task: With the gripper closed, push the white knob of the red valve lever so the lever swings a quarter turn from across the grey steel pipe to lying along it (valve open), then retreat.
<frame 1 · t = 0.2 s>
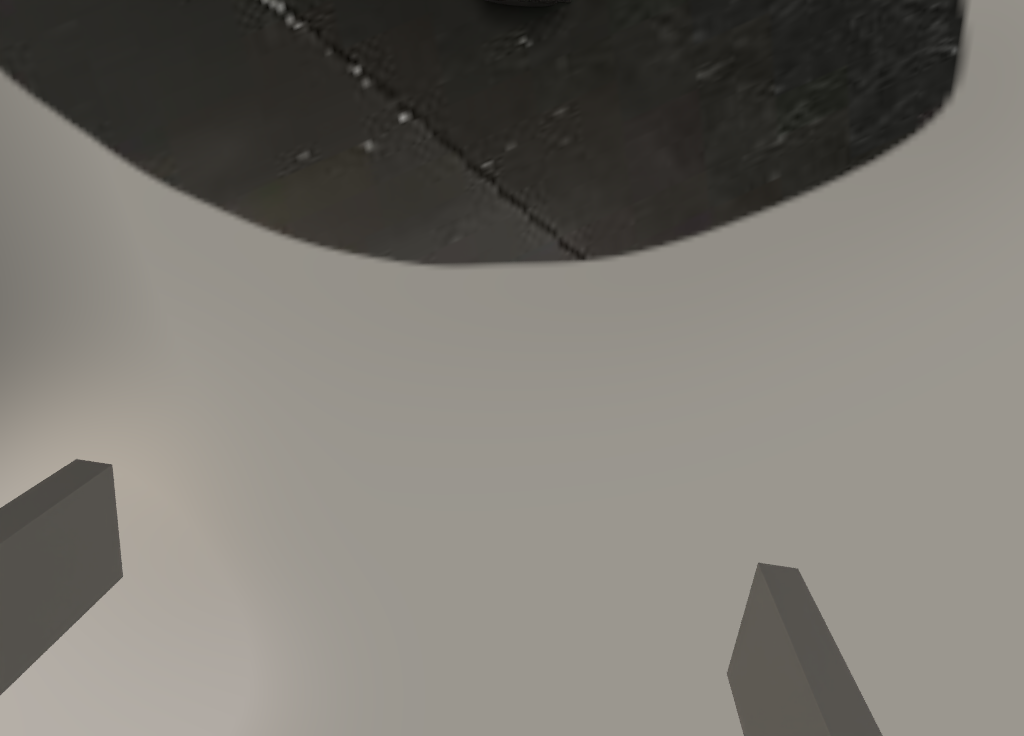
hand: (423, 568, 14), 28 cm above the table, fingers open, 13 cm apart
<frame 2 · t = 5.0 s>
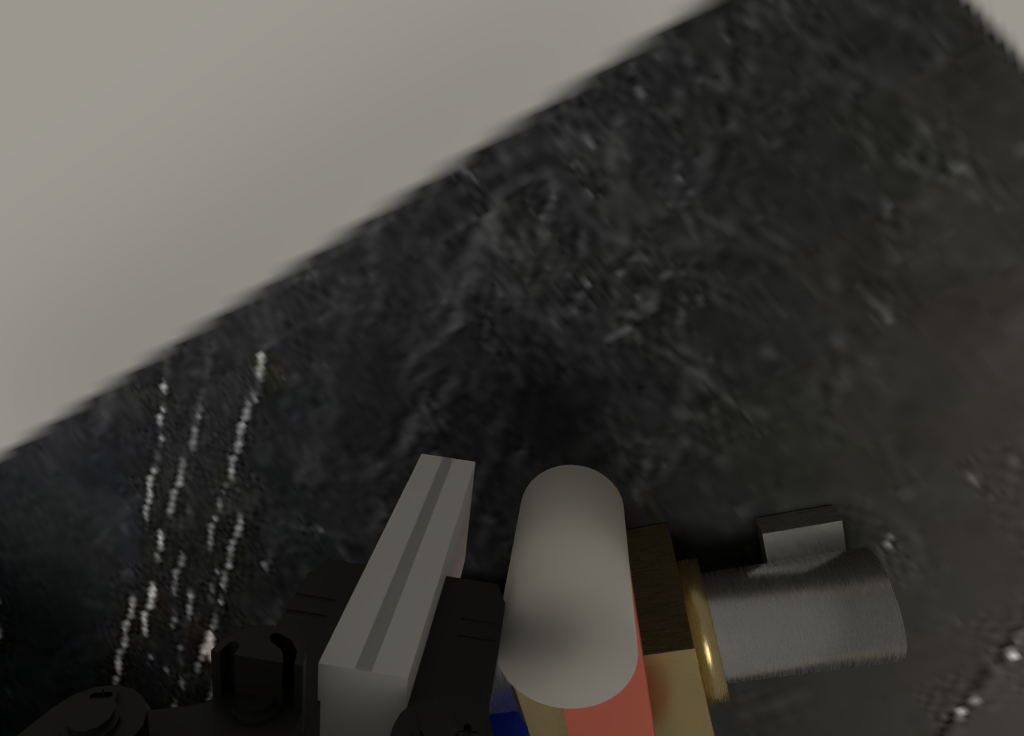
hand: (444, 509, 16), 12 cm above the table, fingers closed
beverage can: (477, 719, 33), on the table
valve: (612, 593, 29), on the table
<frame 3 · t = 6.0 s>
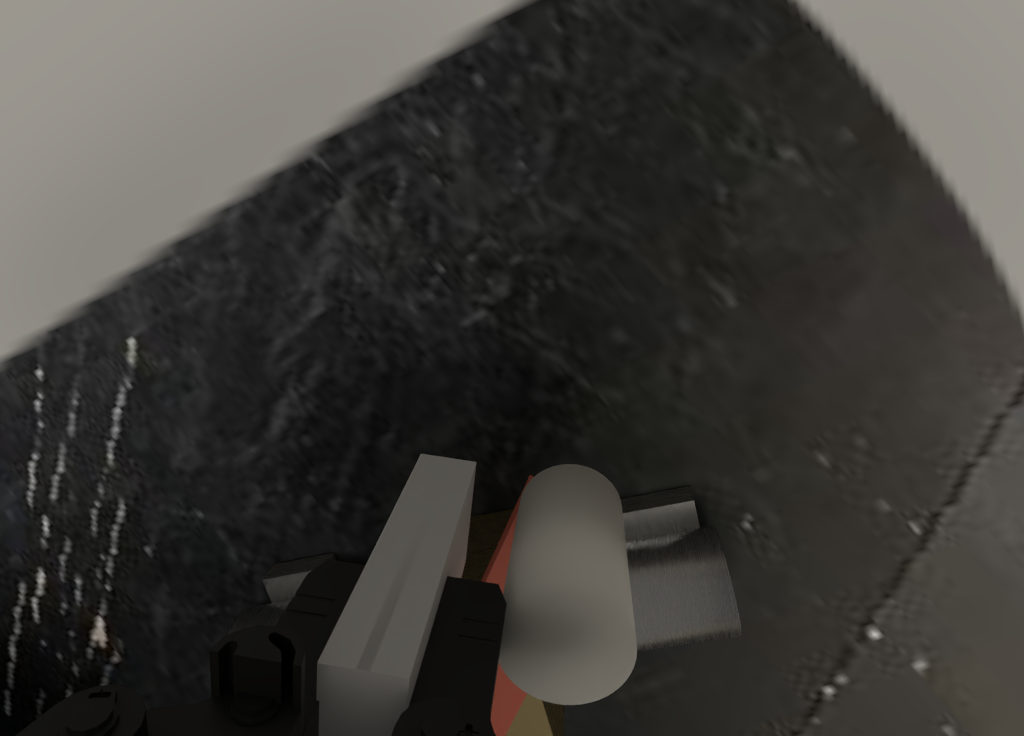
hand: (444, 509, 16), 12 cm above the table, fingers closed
lever: (485, 719, 17), point 12 cm above the table, hinge at 53.0°, touching gripper
valve: (485, 575, 30), on the table
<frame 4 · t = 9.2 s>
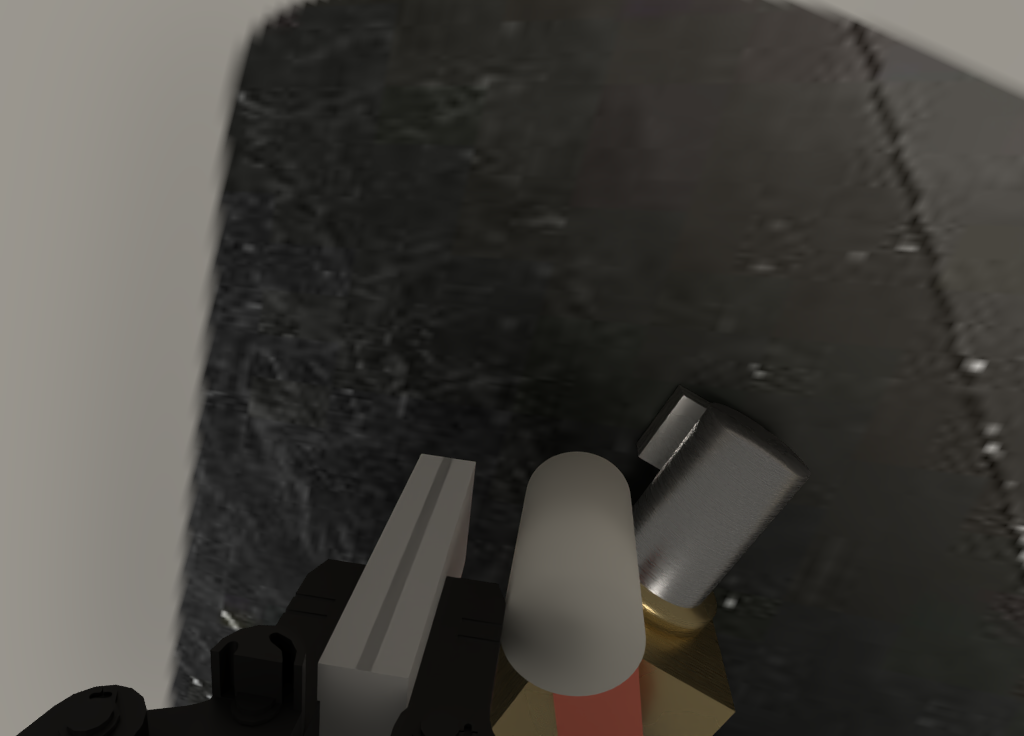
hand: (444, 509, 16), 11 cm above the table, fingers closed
lever: (594, 730, 16), point 12 cm above the table, hinge at 36.5°, touching gripper
valve: (601, 586, 29), on the table
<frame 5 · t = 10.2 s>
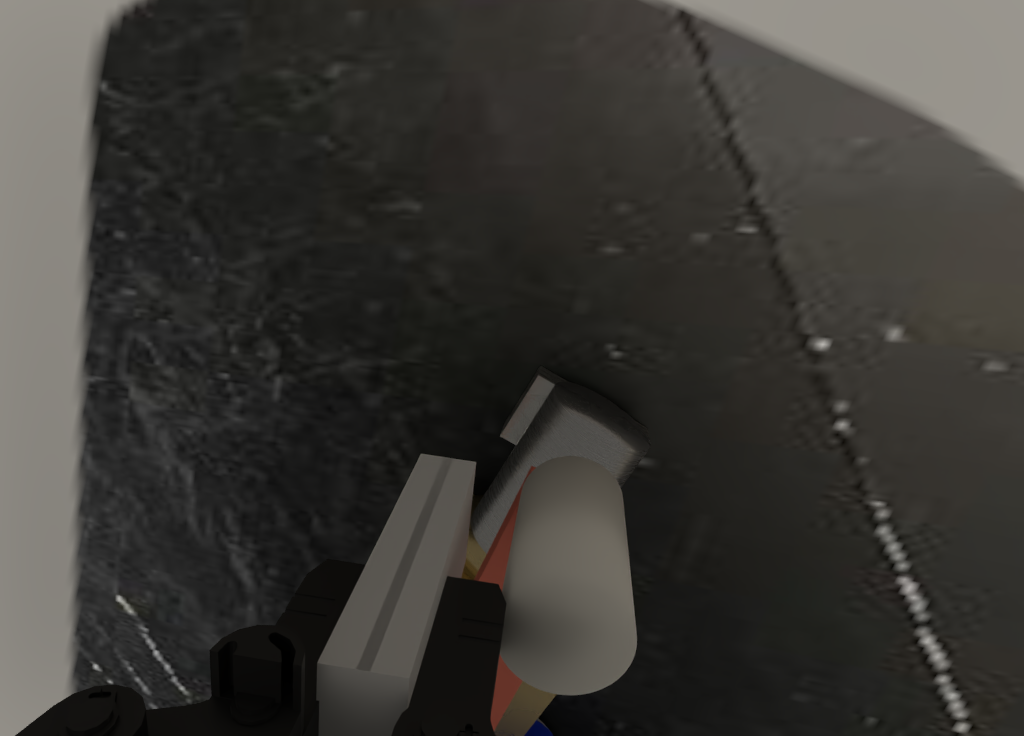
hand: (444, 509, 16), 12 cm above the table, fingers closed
lever: (479, 707, 17), point 12 cm above the table, hinge at 6.0°, touching gripper
valve: (480, 566, 30), on the table
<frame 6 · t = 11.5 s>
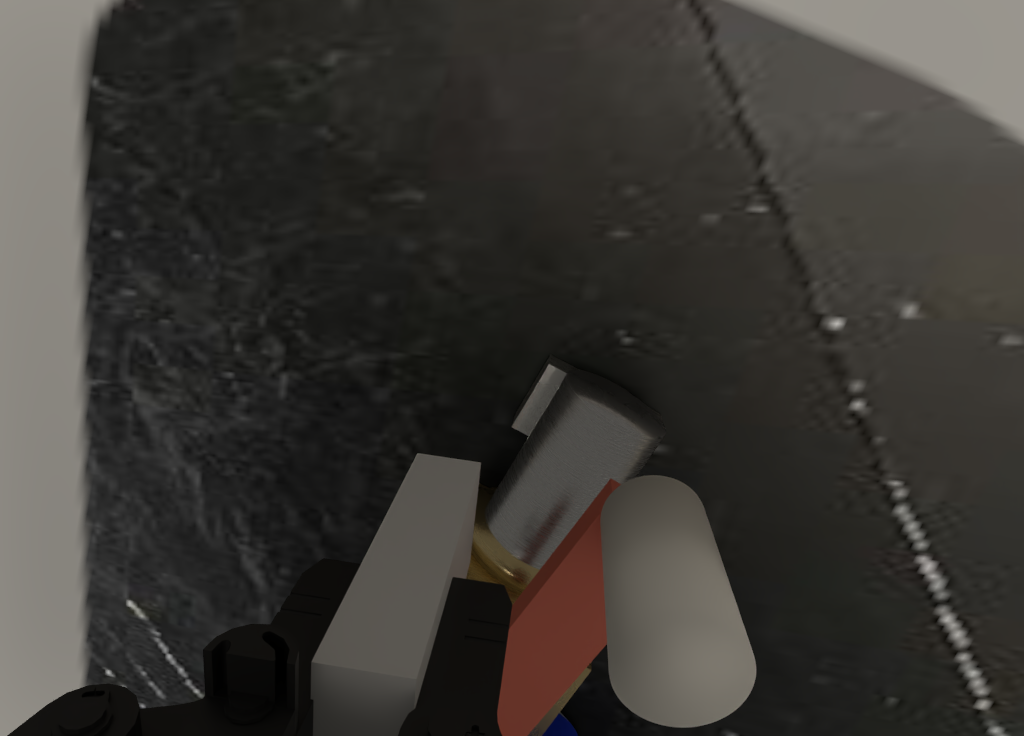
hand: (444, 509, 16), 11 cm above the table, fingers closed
lever: (535, 717, 17), point 12 cm above the table, hinge at -3.5°
beverage can: (527, 730, 33), on the table
valve: (494, 558, 30), on the table
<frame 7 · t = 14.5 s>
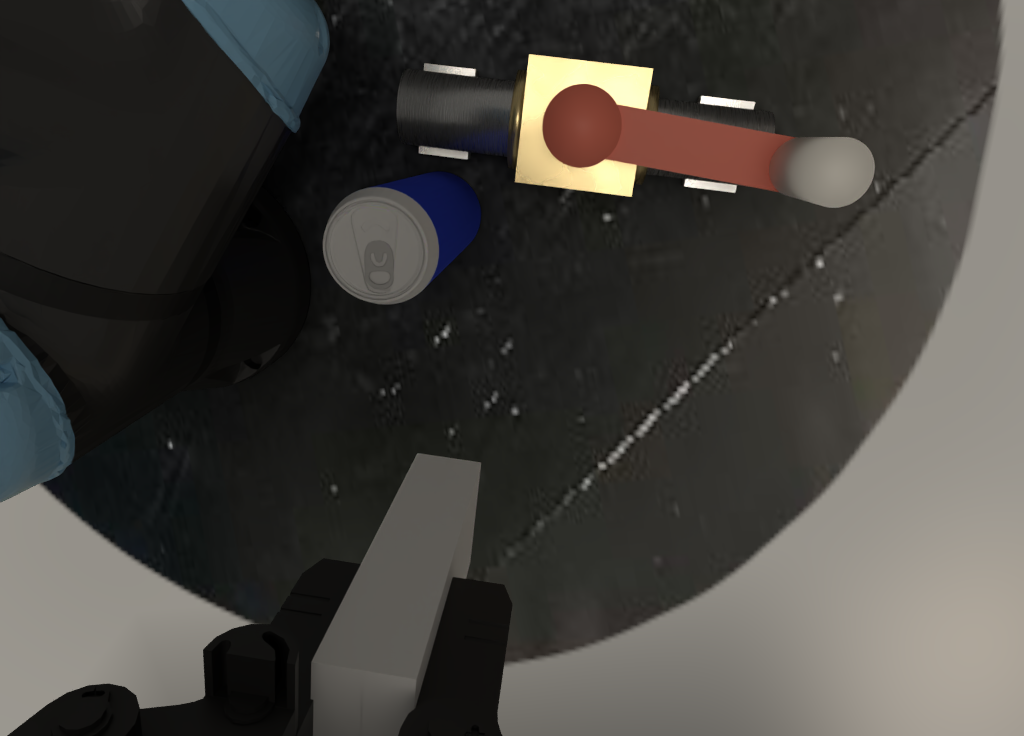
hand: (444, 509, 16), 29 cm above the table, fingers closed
lever: (691, 146, 29), point 12 cm above the table, hinge at -3.5°
beverage can: (442, 212, 43), on the table
valve: (581, 128, 40), on the table
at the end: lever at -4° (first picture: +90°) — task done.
